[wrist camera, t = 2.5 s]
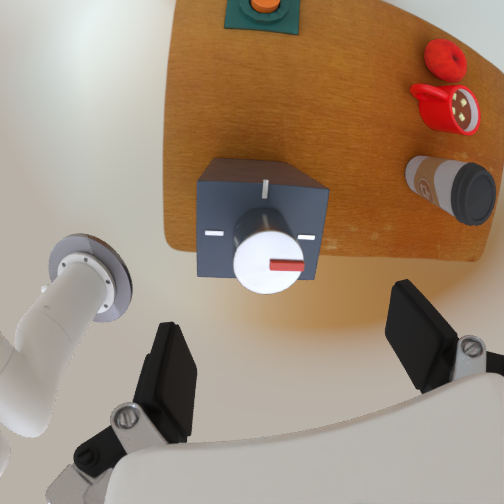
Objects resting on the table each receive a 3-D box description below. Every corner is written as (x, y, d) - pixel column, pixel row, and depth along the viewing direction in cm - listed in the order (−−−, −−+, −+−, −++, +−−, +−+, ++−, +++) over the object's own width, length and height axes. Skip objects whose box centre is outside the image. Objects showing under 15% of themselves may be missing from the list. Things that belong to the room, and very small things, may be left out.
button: (250, 11, 25) (251, 6, 23) (252, -8, 24) (253, -14, 22) (277, 14, 25) (279, 9, 24) (278, -5, 24) (281, -11, 22)
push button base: (224, 28, 28) (223, 22, 25) (229, -13, 24) (229, -21, 22) (297, 35, 28) (301, 30, 26) (299, -6, 25) (303, -13, 23)
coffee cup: (392, 161, 37) (456, 182, 23) (426, 141, 36) (492, 155, 22) (408, 206, 40) (466, 241, 27) (440, 184, 39) (500, 211, 25)
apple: (428, 35, 27) (455, 28, 20) (453, 71, 30) (481, 69, 23) (407, 53, 29) (434, 46, 22) (434, 91, 32) (463, 90, 25)
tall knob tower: (211, 215, 39) (197, 281, 23) (213, 155, 35) (196, 176, 19) (280, 218, 40) (314, 284, 23) (286, 160, 36) (331, 185, 20)
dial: (231, 259, 22) (231, 296, 17) (234, 205, 20) (234, 230, 15) (285, 261, 22) (299, 297, 18) (292, 209, 21) (310, 234, 16)
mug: (402, 69, 30) (431, 62, 23) (452, 98, 32) (482, 99, 25) (395, 111, 34) (426, 111, 26) (447, 137, 35) (477, 143, 28)
